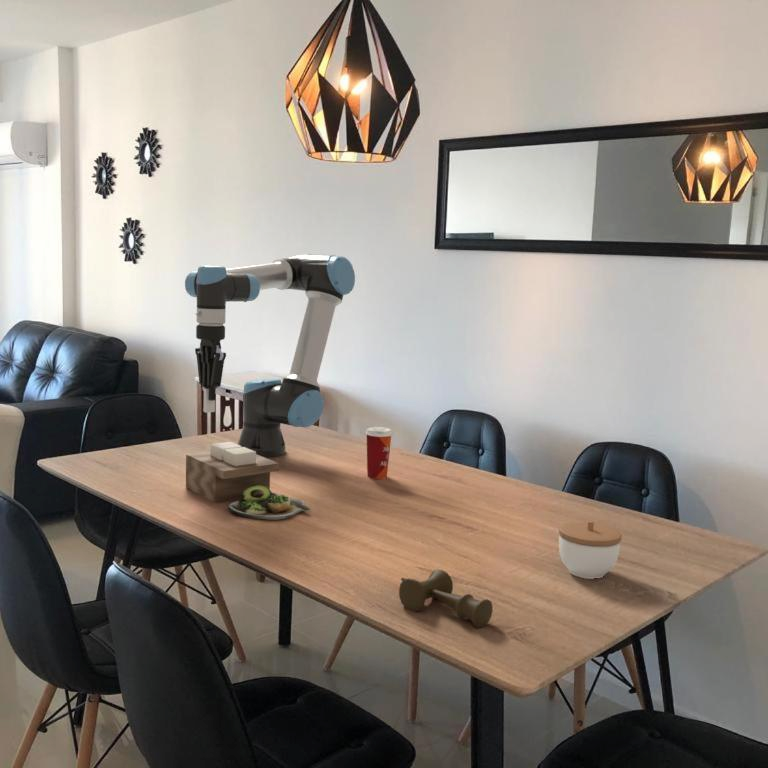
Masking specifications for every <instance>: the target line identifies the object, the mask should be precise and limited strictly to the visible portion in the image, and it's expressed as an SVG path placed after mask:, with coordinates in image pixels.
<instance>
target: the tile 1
mask: <svg viewBox="0 0 768 768" xmlns="http://www.w3.org/2000/svg"><path fill="white" fill-rule="evenodd" d="M240 447H242V446H240V445H238V443H235V442H233V441H225V442H218V443H217V442H216V443H210V450H209V451H210V455H211V456H213V457H215V458H218V459H220V460H224V450H225V449H232V448H240Z"/></svg>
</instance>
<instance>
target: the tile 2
mask: <svg viewBox="0 0 768 768" xmlns="http://www.w3.org/2000/svg"><path fill="white" fill-rule="evenodd" d="M224 461H225V462H227V463H229V464H232V465H234V466H239V465H246V464H253V463H256V452H255V451H253V450H250V449H248V448H245V447H240V448H232V449H225V450H224Z"/></svg>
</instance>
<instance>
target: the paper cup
mask: <svg viewBox="0 0 768 768" xmlns="http://www.w3.org/2000/svg"><path fill="white" fill-rule="evenodd" d="M365 435H366V465H367V466H366V467H367V468H366V471H367V478H369V477H370V478H369V479H371V478H373V479H372V480H384V479H383V478H385V479H387V478H386V477H388V473H389V471H388V470H389V462H390V461H389V460H390V452H391V450H390V449H391V440H392V435H393V432H392V430H391V428H389V427H383V426H371V427H368V428H367V429H366V431H365Z"/></svg>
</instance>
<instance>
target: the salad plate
mask: <svg viewBox="0 0 768 768" xmlns="http://www.w3.org/2000/svg"><path fill="white" fill-rule="evenodd" d="M242 496H243V498H239V499H237V500H236V501H234V502H231V503H230V504H228V507H227V508H228V510H229V512H230V513H231V514H233V515H234V516H238V517H241V516H242V518H248V517H249V519H255V518H256V520H257V519H258V520H267V521H279V520H286V519H290V518H292V517H294V516H296V515H297V514H300V513H301V512H303V511H306V512H307V511H310V510H311V508H310V507H308V506H306V505H305V503H304V502H303V501H302V500H301V499H299V498H294V497H293V498H292V497H289V496H286V495H284V494H281V495H280V494H277V493H275V492H272V490H271V488H270V489H269V488H268V487H266V486H262V485H256V486H252V487H249V488H247V489H246V490H245V491H244V492H243V494H242ZM265 514H269V515H265ZM271 514H274V515H271Z"/></svg>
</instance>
